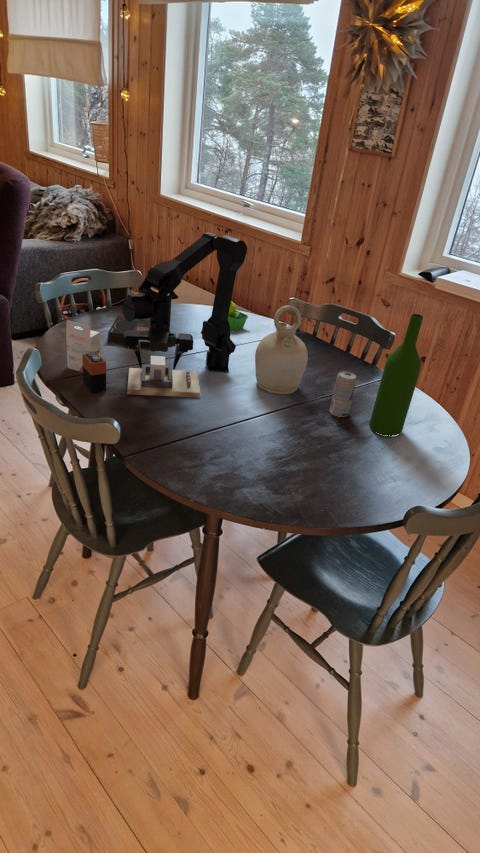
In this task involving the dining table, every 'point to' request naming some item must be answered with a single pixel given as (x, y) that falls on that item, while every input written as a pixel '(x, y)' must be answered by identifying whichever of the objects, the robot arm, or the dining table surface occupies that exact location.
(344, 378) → the energy drink
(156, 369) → the plug
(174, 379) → the header board
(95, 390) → the battery
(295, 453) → the dining table surface
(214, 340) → the robot arm
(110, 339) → the portable cd player
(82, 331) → the ink cartridge box
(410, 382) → the wine bottle
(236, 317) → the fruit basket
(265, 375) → the jug
